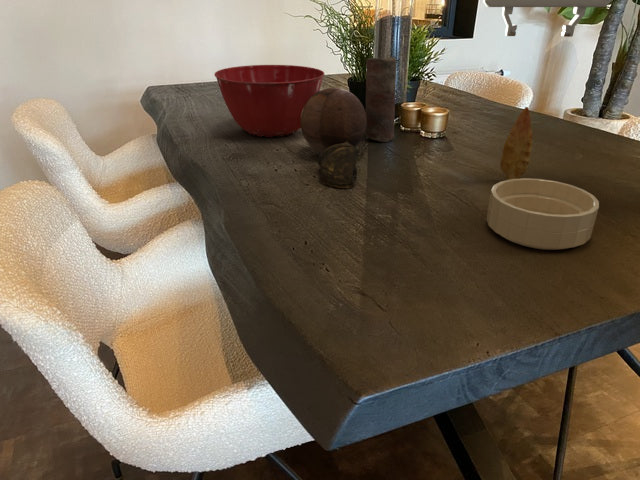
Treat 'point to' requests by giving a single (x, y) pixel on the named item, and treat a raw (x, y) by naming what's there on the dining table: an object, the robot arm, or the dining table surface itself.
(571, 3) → the robot arm
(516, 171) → the stone tool
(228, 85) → the mixing bowl
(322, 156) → the seashell
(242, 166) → the dining table surface
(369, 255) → the dining table surface
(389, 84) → the candle
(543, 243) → the bowl
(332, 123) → the wooden sphere
